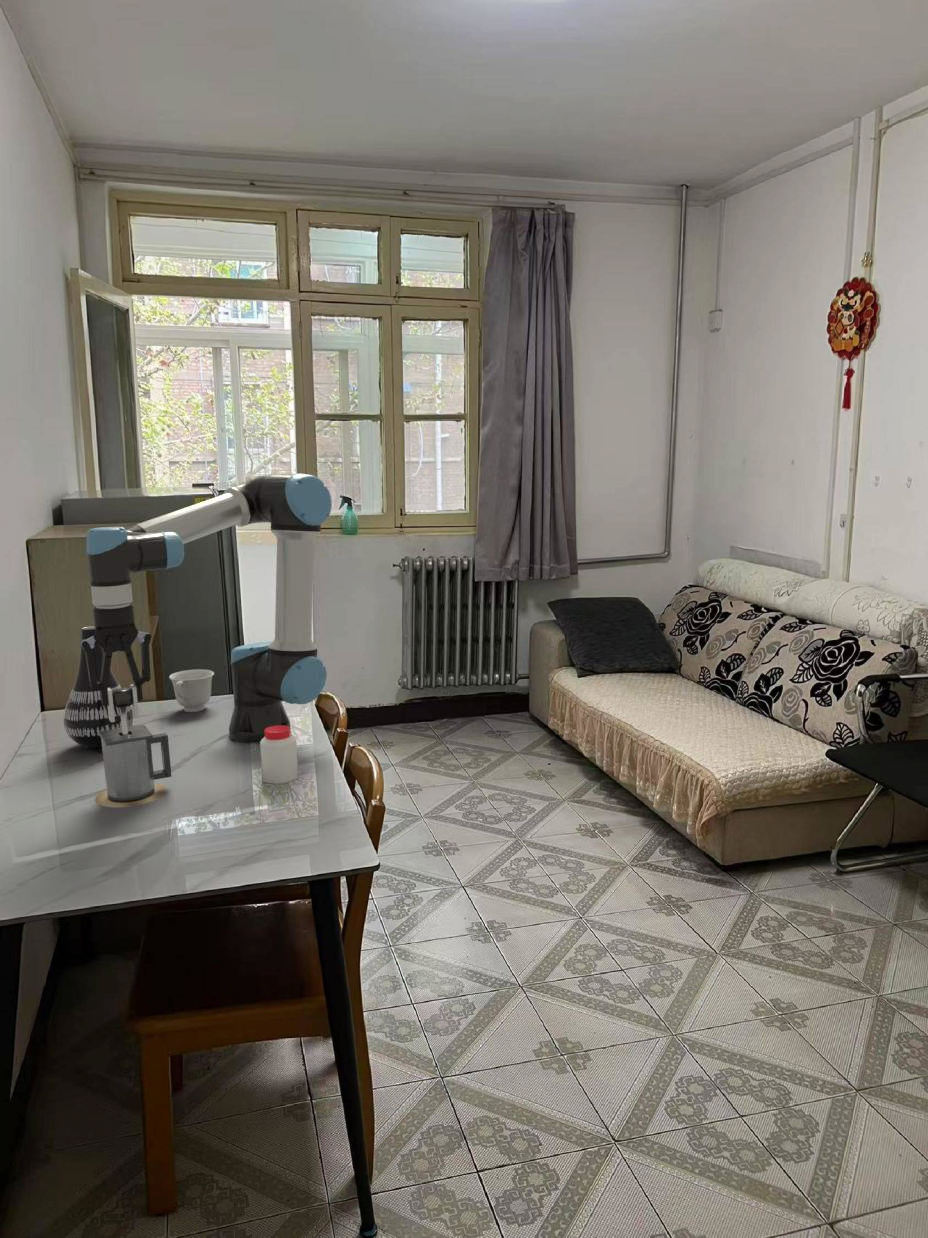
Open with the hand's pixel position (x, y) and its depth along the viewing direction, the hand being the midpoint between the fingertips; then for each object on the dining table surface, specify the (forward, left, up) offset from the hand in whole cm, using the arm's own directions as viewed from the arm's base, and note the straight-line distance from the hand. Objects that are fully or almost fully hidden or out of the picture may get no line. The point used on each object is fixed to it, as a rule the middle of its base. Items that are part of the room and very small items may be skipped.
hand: (124, 718), depth 188 cm
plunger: (0, 0, -14) cm, 14 cm away
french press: (-2, 0, -16) cm, 16 cm away
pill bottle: (-30, +5, -17) cm, 35 cm away
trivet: (0, 0, -17) cm, 17 cm away
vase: (0, -41, -17) cm, 45 cm away
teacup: (-27, -60, -17) cm, 68 cm away
